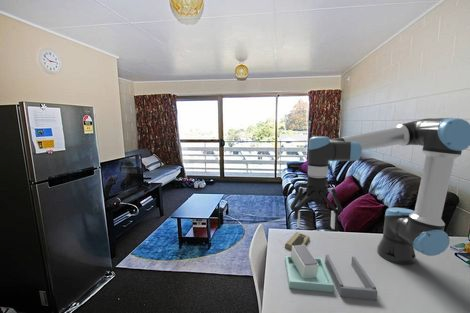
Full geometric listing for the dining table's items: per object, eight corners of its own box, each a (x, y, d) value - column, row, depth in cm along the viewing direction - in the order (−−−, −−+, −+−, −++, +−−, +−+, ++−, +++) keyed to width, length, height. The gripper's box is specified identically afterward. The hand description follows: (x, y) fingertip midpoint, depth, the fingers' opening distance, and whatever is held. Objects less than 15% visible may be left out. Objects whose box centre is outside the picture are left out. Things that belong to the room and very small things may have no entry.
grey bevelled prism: (303, 255, 107) (305, 244, 105) (316, 277, 96) (319, 264, 94) (290, 257, 106) (292, 245, 104) (302, 278, 95) (304, 265, 93)
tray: (321, 264, 107) (321, 258, 106) (333, 292, 89) (333, 285, 89) (284, 261, 108) (285, 255, 108) (289, 288, 91) (289, 281, 90)
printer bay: (354, 265, 106) (354, 256, 106) (376, 300, 85) (377, 289, 85) (325, 263, 108) (325, 254, 107) (340, 296, 87) (341, 286, 86)
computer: (300, 253, 116) (300, 247, 115) (284, 248, 120) (284, 242, 120) (309, 240, 129) (310, 234, 129) (295, 236, 133) (295, 230, 133)
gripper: (346, 174, 97) (343, 224, 100) (284, 173, 100) (283, 222, 103) (354, 178, 90) (350, 232, 93) (286, 177, 92) (285, 229, 95)
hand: (315, 227), depth 98 cm, fingers open, 13 cm apart
